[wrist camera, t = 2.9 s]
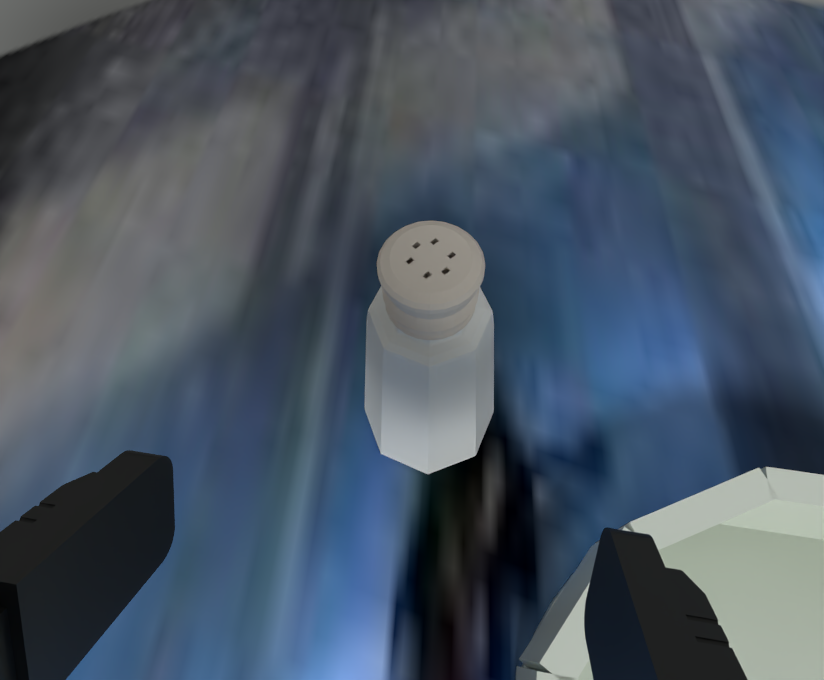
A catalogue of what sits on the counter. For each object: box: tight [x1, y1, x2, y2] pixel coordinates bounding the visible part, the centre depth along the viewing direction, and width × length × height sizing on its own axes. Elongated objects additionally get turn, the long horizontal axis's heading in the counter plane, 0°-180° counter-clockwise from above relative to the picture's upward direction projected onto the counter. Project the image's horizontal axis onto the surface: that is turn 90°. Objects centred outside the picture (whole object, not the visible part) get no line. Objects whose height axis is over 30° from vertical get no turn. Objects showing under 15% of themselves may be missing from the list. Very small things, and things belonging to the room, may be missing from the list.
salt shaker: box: [365, 220, 494, 474], centre depth 20 cm, size 5×5×11 cm
